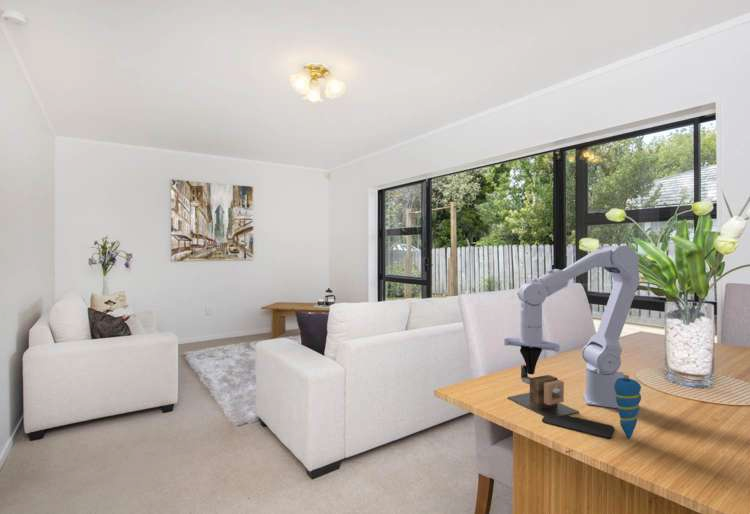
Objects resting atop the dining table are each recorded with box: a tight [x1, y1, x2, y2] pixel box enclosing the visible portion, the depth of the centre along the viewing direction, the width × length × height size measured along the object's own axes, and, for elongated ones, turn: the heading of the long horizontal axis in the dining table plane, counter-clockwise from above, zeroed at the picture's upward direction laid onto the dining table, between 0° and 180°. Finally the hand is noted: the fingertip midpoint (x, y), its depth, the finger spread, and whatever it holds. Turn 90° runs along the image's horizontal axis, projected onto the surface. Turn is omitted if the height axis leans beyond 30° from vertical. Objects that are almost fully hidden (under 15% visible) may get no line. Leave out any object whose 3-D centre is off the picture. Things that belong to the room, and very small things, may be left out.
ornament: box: [614, 373, 642, 440], centre depth 88 cm, size 5×5×15 cm
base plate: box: [507, 392, 580, 418], centre depth 107 cm, size 16×10×1 cm, turn 24°
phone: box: [541, 415, 615, 440], centre depth 95 cm, size 7×1×15 cm
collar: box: [544, 379, 565, 405], centre depth 103 cm, size 2×5×5 cm, turn 114°
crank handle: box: [520, 364, 562, 396], centre depth 107 cm, size 13×2×5 cm, turn 23°
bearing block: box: [529, 374, 559, 409], centre depth 106 cm, size 3×7×7 cm, turn 113°
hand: (531, 373), depth 110 cm, fingers closed
